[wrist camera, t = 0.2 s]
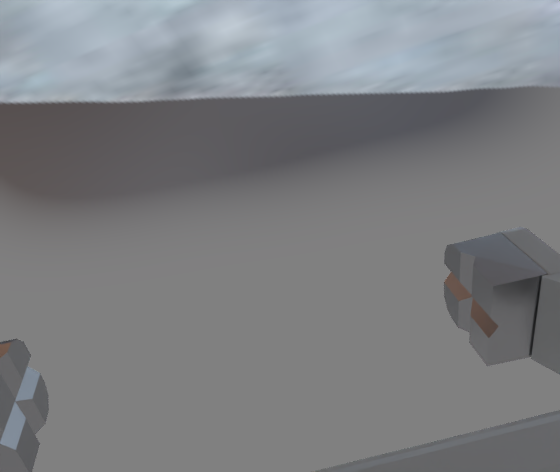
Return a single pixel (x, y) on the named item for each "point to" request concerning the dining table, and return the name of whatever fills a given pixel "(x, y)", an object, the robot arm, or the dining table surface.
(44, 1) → the dining table surface
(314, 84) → the dining table surface
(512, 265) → the robot arm
